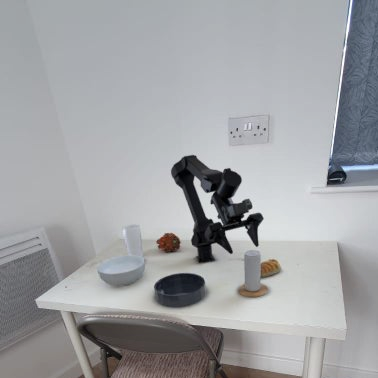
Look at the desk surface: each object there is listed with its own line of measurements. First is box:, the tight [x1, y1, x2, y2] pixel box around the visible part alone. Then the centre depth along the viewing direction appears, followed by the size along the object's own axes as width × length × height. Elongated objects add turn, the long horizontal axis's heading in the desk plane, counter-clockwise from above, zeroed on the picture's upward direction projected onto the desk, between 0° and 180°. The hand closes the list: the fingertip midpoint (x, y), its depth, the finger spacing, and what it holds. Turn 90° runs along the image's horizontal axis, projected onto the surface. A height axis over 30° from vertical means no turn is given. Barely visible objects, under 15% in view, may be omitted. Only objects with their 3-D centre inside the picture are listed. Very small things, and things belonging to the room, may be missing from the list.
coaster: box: [238, 283, 269, 298], centre depth 102 cm, size 9×9×1 cm
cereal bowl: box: [96, 254, 146, 287], centre depth 117 cm, size 17×17×7 cm
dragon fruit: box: [156, 232, 182, 253], centre depth 141 cm, size 8×8×12 cm
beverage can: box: [243, 249, 262, 292], centre depth 100 cm, size 5×5×12 cm
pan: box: [153, 272, 207, 308], centre depth 104 cm, size 16×16×4 cm
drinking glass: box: [121, 223, 145, 260], centre depth 131 cm, size 7×7×15 cm
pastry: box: [260, 258, 282, 278], centre depth 112 cm, size 9×7×4 cm
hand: (245, 249), depth 100 cm, fingers open, 9 cm apart
